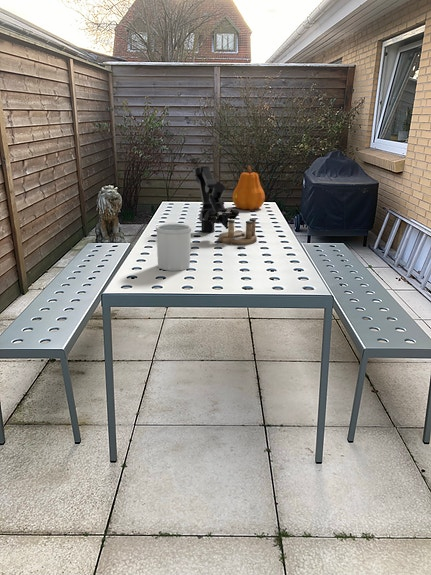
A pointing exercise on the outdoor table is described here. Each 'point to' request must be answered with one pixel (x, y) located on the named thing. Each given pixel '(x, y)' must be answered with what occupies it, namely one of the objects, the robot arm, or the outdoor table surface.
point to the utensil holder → (173, 246)
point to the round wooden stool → (241, 240)
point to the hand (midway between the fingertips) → (227, 228)
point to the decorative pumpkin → (248, 191)
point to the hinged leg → (232, 229)
